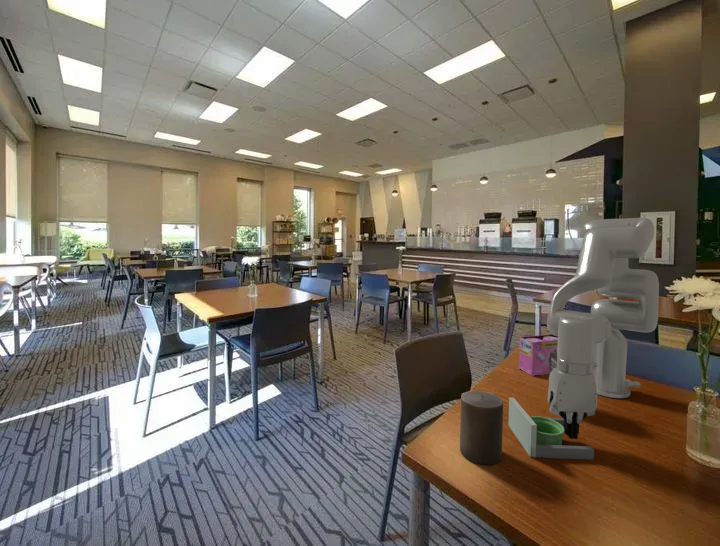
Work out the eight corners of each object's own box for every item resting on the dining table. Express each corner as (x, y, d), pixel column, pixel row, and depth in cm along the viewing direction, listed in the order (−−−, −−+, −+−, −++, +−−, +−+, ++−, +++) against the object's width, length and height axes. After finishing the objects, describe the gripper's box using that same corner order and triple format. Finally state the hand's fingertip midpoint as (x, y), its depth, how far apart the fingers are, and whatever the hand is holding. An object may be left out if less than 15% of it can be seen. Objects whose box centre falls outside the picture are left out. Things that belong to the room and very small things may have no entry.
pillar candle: (498, 470, 76) (501, 406, 75) (455, 457, 81) (456, 396, 80) (504, 448, 84) (506, 390, 83) (464, 437, 89) (465, 382, 88)
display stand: (561, 426, 94) (563, 398, 93) (593, 459, 80) (595, 426, 79) (508, 425, 95) (509, 397, 94) (530, 457, 81) (531, 425, 80)
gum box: (567, 364, 142) (568, 332, 141) (583, 371, 135) (585, 337, 134) (517, 369, 137) (518, 336, 136) (532, 377, 129) (533, 342, 128)
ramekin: (556, 456, 81) (557, 438, 81) (518, 440, 88) (518, 424, 87) (568, 441, 87) (569, 425, 87) (532, 427, 94) (532, 412, 93)
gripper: (595, 361, 88) (592, 429, 90) (536, 360, 89) (534, 427, 91) (615, 372, 81) (611, 445, 82) (550, 371, 82) (547, 443, 83)
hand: (570, 435), depth 87 cm, fingers closed
